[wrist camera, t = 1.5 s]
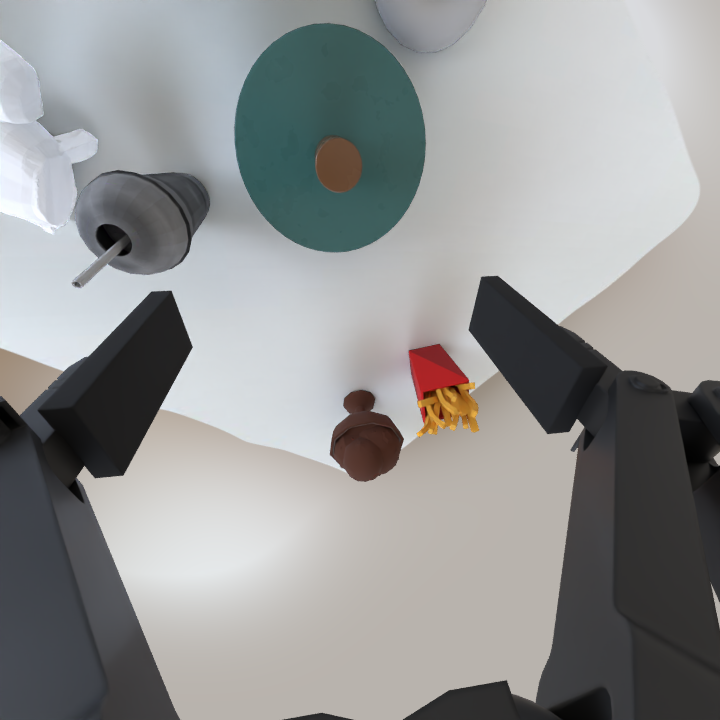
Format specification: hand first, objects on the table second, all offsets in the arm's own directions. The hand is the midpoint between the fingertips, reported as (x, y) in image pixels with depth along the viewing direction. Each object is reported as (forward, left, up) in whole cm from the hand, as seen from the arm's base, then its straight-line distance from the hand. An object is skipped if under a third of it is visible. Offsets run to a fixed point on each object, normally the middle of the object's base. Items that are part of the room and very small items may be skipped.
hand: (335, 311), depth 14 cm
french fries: (+25, -9, -27) cm, 37 cm away
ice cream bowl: (+23, -22, -26) cm, 41 cm away
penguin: (-23, -11, -26) cm, 37 cm away
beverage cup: (-11, -8, -26) cm, 30 cm away
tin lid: (-2, +4, -18) cm, 18 cm away
